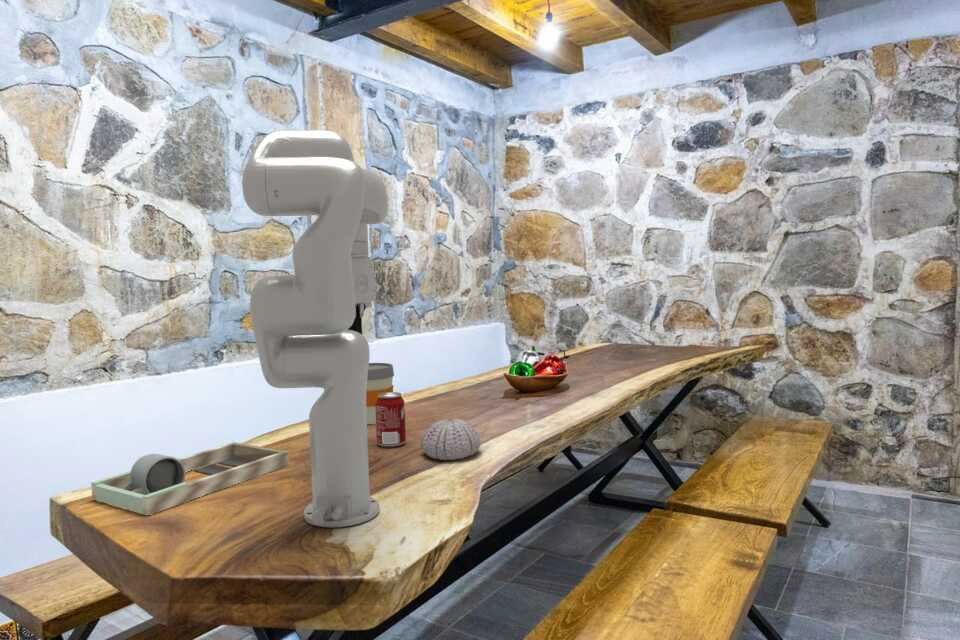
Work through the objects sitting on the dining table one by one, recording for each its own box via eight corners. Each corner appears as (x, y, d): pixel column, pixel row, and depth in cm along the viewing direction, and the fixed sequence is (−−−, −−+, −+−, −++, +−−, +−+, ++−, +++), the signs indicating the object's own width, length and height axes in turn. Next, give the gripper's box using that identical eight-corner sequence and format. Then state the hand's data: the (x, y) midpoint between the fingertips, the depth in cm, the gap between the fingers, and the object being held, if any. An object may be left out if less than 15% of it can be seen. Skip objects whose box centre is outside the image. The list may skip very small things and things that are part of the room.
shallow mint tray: (147, 516, 113) (146, 497, 113) (92, 500, 122) (91, 482, 122) (189, 501, 120) (187, 483, 120) (133, 487, 129) (132, 470, 128)
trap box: (147, 516, 113) (146, 499, 113) (92, 500, 122) (91, 484, 122) (288, 465, 141) (287, 451, 140) (235, 455, 149) (234, 442, 149)
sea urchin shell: (427, 466, 138) (426, 429, 137) (416, 449, 151) (415, 415, 150) (488, 460, 141) (487, 423, 141) (472, 444, 154) (471, 410, 154)
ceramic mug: (167, 483, 130) (164, 446, 130) (187, 492, 125) (184, 452, 124) (110, 500, 122) (106, 460, 122) (129, 509, 117) (125, 468, 116)
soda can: (400, 449, 151) (398, 397, 150) (372, 448, 152) (370, 397, 151) (409, 441, 158) (407, 391, 157) (382, 440, 159) (380, 391, 158)
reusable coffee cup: (340, 421, 180) (337, 366, 178) (378, 413, 188) (376, 361, 187) (366, 428, 171) (363, 371, 169) (404, 420, 179) (403, 365, 178)
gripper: (339, 249, 132) (343, 340, 134) (386, 250, 145) (389, 333, 146) (312, 251, 136) (316, 339, 137) (360, 251, 149) (363, 331, 150)
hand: (354, 335), depth 142 cm, fingers closed
